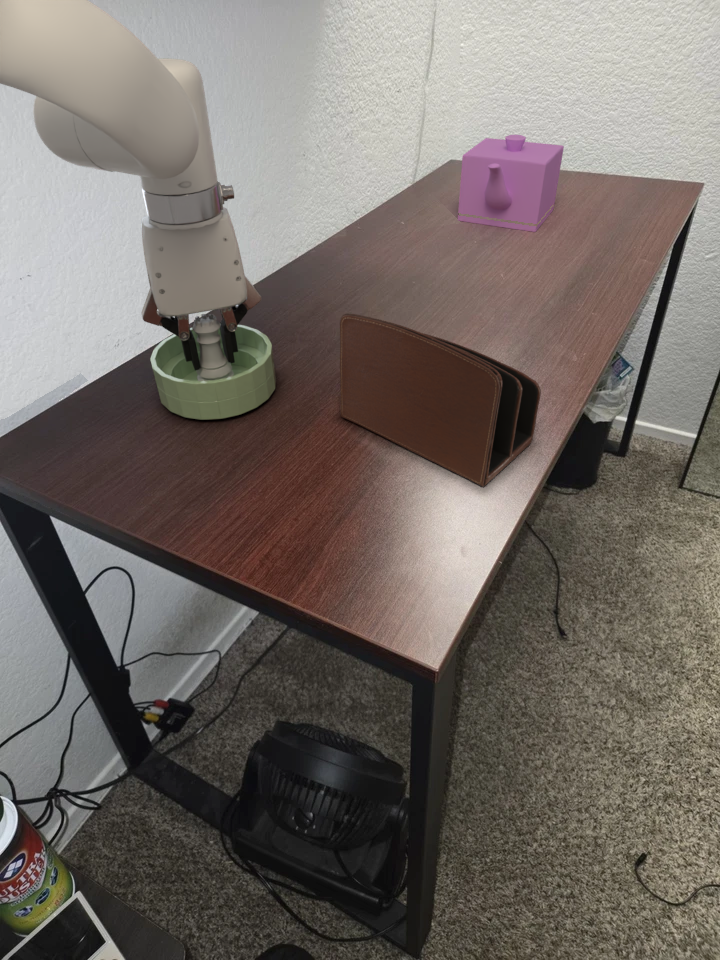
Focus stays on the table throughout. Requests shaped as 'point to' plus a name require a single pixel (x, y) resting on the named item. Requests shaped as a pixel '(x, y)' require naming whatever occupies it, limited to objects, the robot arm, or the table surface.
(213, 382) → the bowl
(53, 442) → the table surface
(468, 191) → the teapot
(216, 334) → the rook chess piece
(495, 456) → the letter holder
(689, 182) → the table surface
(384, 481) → the table surface
